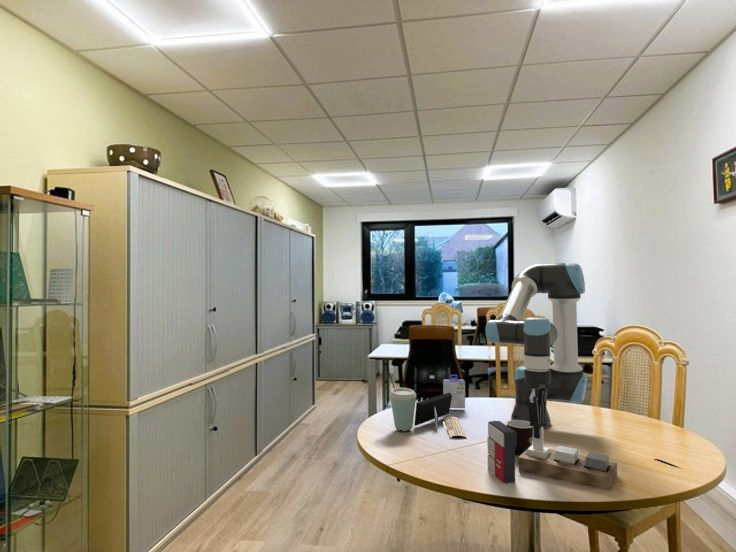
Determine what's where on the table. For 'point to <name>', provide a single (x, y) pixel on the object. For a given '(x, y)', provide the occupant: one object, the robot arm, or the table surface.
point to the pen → (667, 463)
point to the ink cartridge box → (455, 391)
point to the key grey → (566, 455)
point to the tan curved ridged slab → (454, 426)
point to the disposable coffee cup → (403, 407)
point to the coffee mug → (522, 435)
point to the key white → (538, 452)
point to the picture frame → (432, 409)
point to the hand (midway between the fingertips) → (538, 448)
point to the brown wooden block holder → (569, 471)
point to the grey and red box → (501, 451)
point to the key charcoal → (597, 461)
